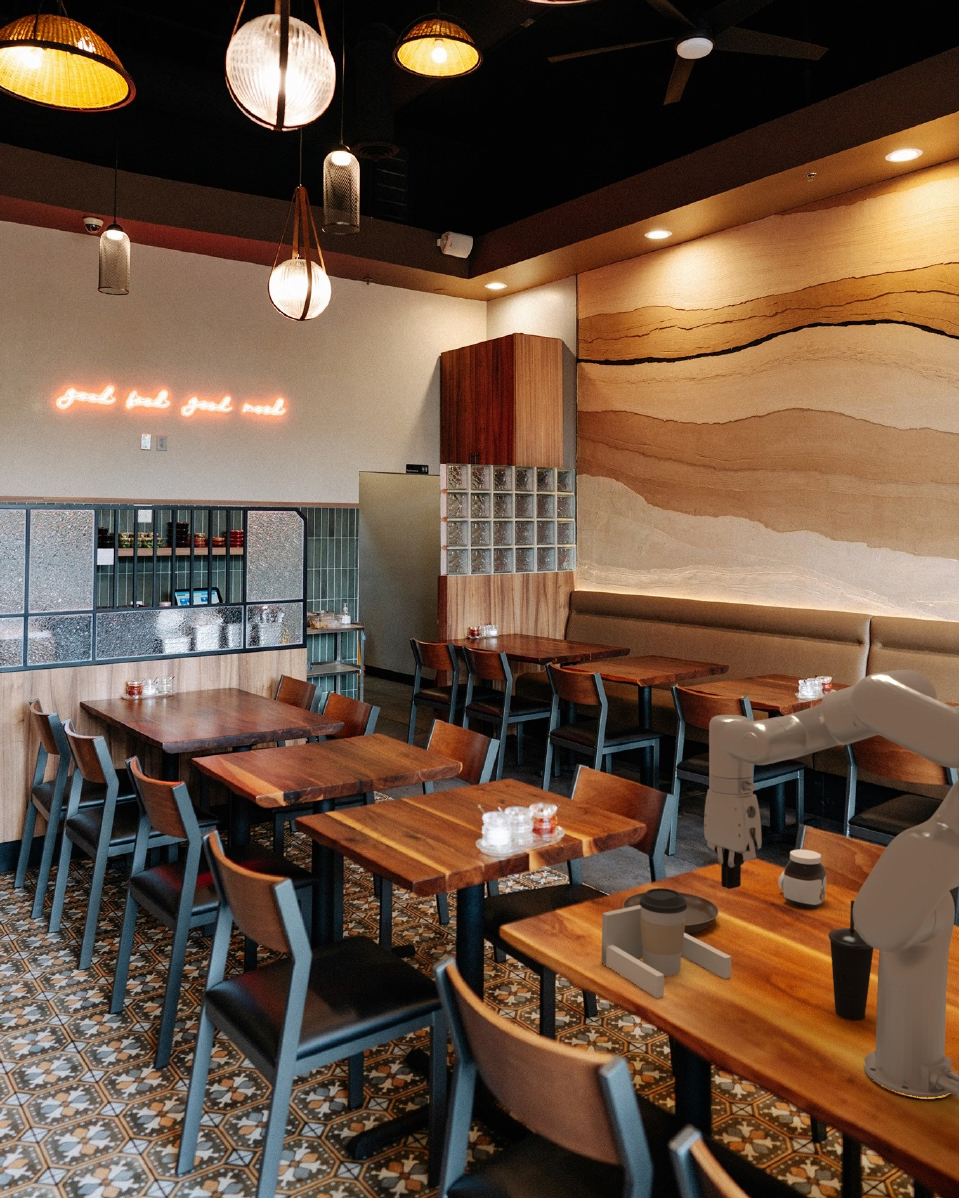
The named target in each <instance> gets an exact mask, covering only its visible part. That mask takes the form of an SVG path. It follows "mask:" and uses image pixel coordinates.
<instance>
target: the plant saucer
mask: <svg viewBox="0 0 959 1198" xmlns="http://www.w3.org/2000/svg"><path fill="white" fill-rule="evenodd" d="M646 892H647V891H646ZM646 892H640V893H637V894H633V895H629V896H628V897H626V898H625V899H624V901H623V902H622V909H623V908H628V907H633V906H637V905H640V904H639V902H640V898H641V897H642V896H643V895H644V894H645V893H646ZM678 892H679V891H678ZM679 893H680V894H681V896H682V897H683V898H684V899H685V900H686V905H687V909H686V912H685V930H684V933H686V934H688V935H690V934H694V933H698V932H701V931H703V930H704V929H706V928H708V927H709V926H710V925H711V924H712V923H713V922H714V921H715V919H716V918H717V917H718V915H719V912H720V911H719V907H718V906H717V905H716V904H715V903H713V902H712V901H710V900H709V899H707V898H704V897H701V896H698V895H695V894H690V893H687V892H679Z"/></svg>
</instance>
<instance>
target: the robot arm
mask: <svg viewBox="0 0 959 1198" xmlns="http://www.w3.org/2000/svg"><path fill="white" fill-rule="evenodd" d="M708 725H709V726H708V730H709V732H708V735H709V736H708V746H709V747H708V748H709V749H708V751H709V753H708V755H709V756H708V764H709V765H708V766H709V767H708V768H709V771H708V773H709V775H708V776H709V778H708V781H709V785H708V786H709V789H707V792H706V797H705V805H704V815H703V816H704V817H703V819H704V820H703V832H704V839H705V841H707V844H706V846H707V847H708V848H710V849H711V850H713V852H715V854H716V856H717V859H718V863H719V864H720V865H721V866H720V867H721V874H720V875H721V877H720V878H721V880H720V881H721V884H720V885H721V887H723V888H725V889H729V890H731V889H736V888H739V887H741V885H742V884H741V881H742V879H741V878H742V876H741V875H742V874H741V873H742V872H741V871H742V869H741V867H742V866H743V865H744V864H745V862H748V861H749V862H750V861H755V860H757V854H756V851H757V850H760V849H761V848H762V824H761V813H760V808H759V807H760V806H759V803H758V798H757V795H756V794H754V793H753V792H754V791H756V784H755V783H754V782H753V779H754V777H753V776H754V775H753V770H754V769H753V766H754V765H755V766H766V765H769V764H775V763H778V762H782V761H787V760H792V759H796V758H800V757H803V756H806V755H810V754H813V753H816V752H820V751H823V750H826V749H827V750H828V749H829V748H830V749H831V748H833V747H836V746H840V745H842V746H846V745H848V744H854V743H855V742H859V741H863V740H866V739H870V738H872V737H876V736H881V737H883V738H884V739H885V740H889V741H890V742H892V743H895V744H896V745H899V746H901V747H902V748H904V749H907V750H908V751H910V752H912V753H914V754H916V755H918V756H920V757H922V758H924V759H925V760H928V761H929V762H932V763H934V764H936V765H939V766H942V767H944V768H945V767H946V768H950V769H959V705H955V706H953V705H949V704H946V703H945V702H942V701H940V700H938V695H937V691H936V688H935V687H934V684H933V683H932V681H931V680H930V679H929V678H928V677H926V676H925V675H924V674H923V673H921V672H918V671H915V670H910V669H896V670H889V671H882V672H875V673H872V674H869V675H867V676H865V677H863V678H862V679H861V680H859V681H858V683H856V684H854V685H851V686H848V687H845V688H842V689H839V690H835V691H832V692H830V693H827V694H826V695H825V696H823V698H822V699H821V703H819V704H816V705H813V706H812V707H809V708H805V709H803V710H801V711H796V712H793V713H790V714H787V715H783V716H776V717H771V718H764V719H758V720H752V721H751V719H750V718H748V717H747V716H743V715H739V714H720V715H715V716H713V717H711V719H710V721H709V724H708ZM957 887H959V778H957V779H956V781H955V782H954V783H953V785H952V786H951V788H950V789H949V791H948V792H947V794H946V795H945V798H944V799H943V800H942V802H941V804H940V805H939V807H938V808H937V809H936V810H935V812H934V813H933V814H932V816H931V817H930V818H929V819H928V820H926V821H924V822H922V823H920V824H918V825H915V826H913V827H910V828H907V829H905V830H903V831H902V832H900V833H899V834H897V835H896V836H895V837H894V838H893V839H892V840H891V841H890V843H889V844H888V845H887V846H886V848H885V849H884V851H883V852H882V854H881V855H880V857H879V858H878V860H877V862H876V863H875V865H874V866H873V868H872V870H871V871H870V873H869V875H868V876H867V878H866V879H865V881H864V883H863V884H862V886H861V888H860V889H859V891H858V893H857V894H856V897H855V899H854V900H853V901H854V905H853V921H854V929H856V930H857V932H858V934H859V935H860V937H861V938H862V939H863V940H864V941H865V942H866V943H867V944H868V945H869V946H871V947H873V949H875V950H878V951H879V953H878V965H877V967H878V969H877V995H876V996H877V998H876V1028H875V1029H876V1033H875V1034H876V1035H875V1036H876V1037H875V1051H872V1052H870V1053H868V1054H867V1055H866V1057H865V1059H864V1064H863V1065H864V1071H865V1073H866V1075H867V1074H868V1075H867V1077H869V1076H870V1077H869V1079H871V1078H872V1079H873V1080H872V1079H871V1080H872V1081H873V1082H874V1081H875V1082H877V1083H879V1084H880V1085H883V1086H884V1087H886V1088H888V1089H890V1090H894V1091H896V1092H900V1093H904V1094H906V1095H912V1096H916V1097H917V1096H918V1097H927V1098H928V1097H938V1096H942V1095H946V1094H948V1093H951V1095H952V1096H955V1097H957V1098H958V1099H959V1074H957V1073H955V1072H954V1071H953V1070H952V1059H951V1058H950V1057H948V1056H946V1055H945V1052H946V1051H945V1049H946V1045H945V1044H946V1020H947V1019H946V1017H947V1015H946V1014H947V986H948V965H949V954H950V953H949V952H950V946H951V941H952V935H953V931H954V930H953V929H954V926H955V925H954V924H955V917H956V913H955V912H956V911H955V910H956V908H955V903H954V898H953V896H952V893H951V891H952V890H953V889H955V888H957ZM875 1082H874V1083H875Z"/></svg>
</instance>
